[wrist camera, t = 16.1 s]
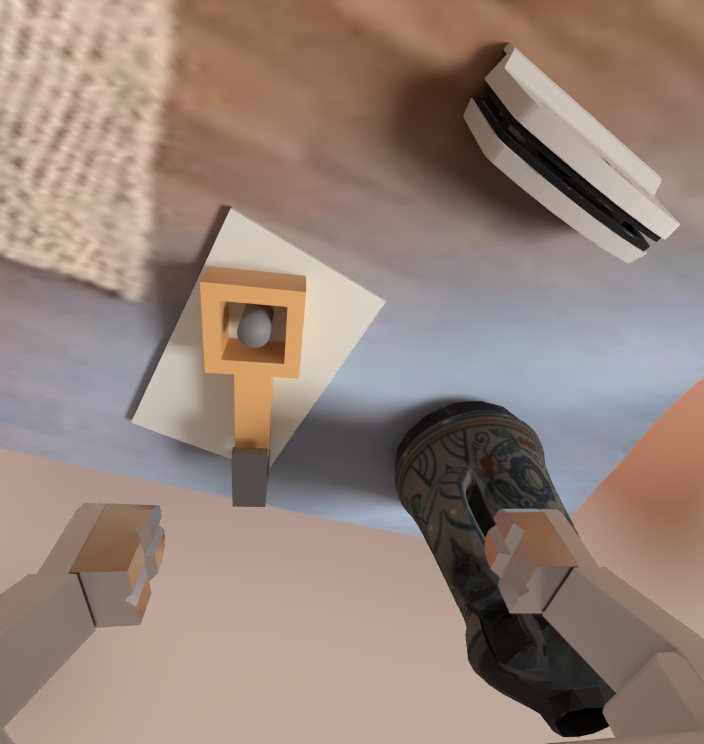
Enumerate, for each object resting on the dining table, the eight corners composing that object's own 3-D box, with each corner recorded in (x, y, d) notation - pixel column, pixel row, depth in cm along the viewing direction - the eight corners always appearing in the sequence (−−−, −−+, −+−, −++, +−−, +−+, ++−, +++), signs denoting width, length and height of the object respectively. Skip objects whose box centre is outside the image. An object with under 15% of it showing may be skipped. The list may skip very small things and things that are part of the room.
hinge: (655, 172, 32) (723, 234, 26) (602, 219, 36) (650, 285, 29) (504, 38, 27) (541, 73, 20) (457, 107, 30) (475, 158, 23)
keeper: (242, 406, 40) (231, 453, 34) (272, 407, 40) (267, 454, 35) (242, 455, 43) (232, 506, 37) (270, 456, 44) (265, 506, 38)
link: (211, 266, 32) (199, 281, 28) (306, 276, 33) (306, 292, 30) (218, 436, 41) (209, 464, 37) (292, 439, 42) (291, 466, 38)
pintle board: (134, 417, 39) (113, 451, 35) (232, 206, 31) (220, 218, 26) (267, 467, 44) (263, 502, 40) (384, 298, 36) (395, 320, 31)
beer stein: (483, 513, 52) (606, 773, 31) (346, 486, 47) (380, 775, 26) (557, 417, 45) (784, 671, 24) (404, 372, 40) (519, 645, 19)
